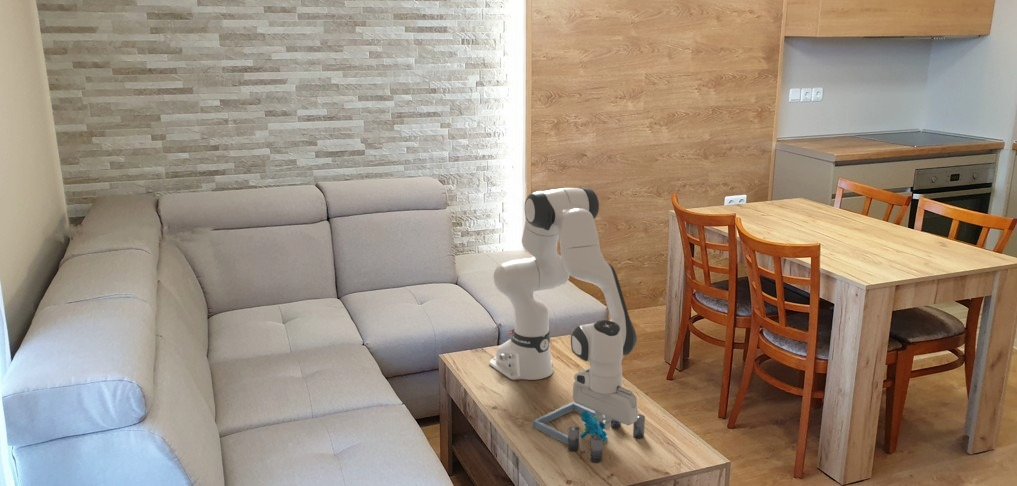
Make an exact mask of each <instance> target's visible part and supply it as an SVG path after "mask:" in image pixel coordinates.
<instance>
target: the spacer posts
mask: <svg viewBox="0 0 1017 486" xmlns="http://www.w3.org/2000/svg"><path fill="white" fill-rule="evenodd" d="M645 421H646V416H645V415H644V414H640V413H638V419H637V421H636V422H634V423H633V426H632V427H633V428H632V429H633V433H632V436H633V438H634V439H636V440H642V439H644V437H645V424H646V422H645ZM610 427H611V429H614V430H615V429H617V430H618V429H621V428H622V423H621V422H619V421H616V420H614V419H613V420H612V421H611V422H610ZM567 430H568V431H567V435H568V444H567V450H568V451H569V452H578V451H580V427H579V426H576V425H570V426H568V428H567ZM602 461H603V439H602V438H601V437H596V436H592V437H591V438H590V462H592V463H593V464H600V463H602Z"/></svg>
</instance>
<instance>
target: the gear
mask: <svg viewBox="0 0 1017 486" xmlns="http://www.w3.org/2000/svg"><path fill="white" fill-rule="evenodd" d="M580 416H581V418H580V419H581V421H582V422H584V424H583V426H584V427H585V428H584V432H582V434H579V438H580V439H581V440H582V439H584V438H585V437H586V436H588V435H589V434H590V435H591V436H594V435H595V437H601V438H602V439H603V443H605V442H606V441H608V437H607V436H608V434H607V432H606V431H605V429H604V428H601V427H599V426H598V420H597V418H596V416H595V417H593V415H592V414H591V413H589V414H588V412H587V411H584V412H583V413H580ZM592 417H593V418H592Z"/></svg>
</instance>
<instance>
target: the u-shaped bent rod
mask: <svg viewBox="0 0 1017 486" xmlns="http://www.w3.org/2000/svg"><path fill="white" fill-rule="evenodd" d="M572 411H574V412H576V413H579V414H581V413H583V412H584V411H587V412H588V414H589V413H591V414H592V415H593V417H595V416H596V415H595V411H594V410H591V409H589V408H587V407H584V406H582V405H580V404H578V403H575V401H572V402H569V403H567V404H565V405H563V406H561V407H558V408H557V409H555V410H553V411H551V412H548V413H546V414H544V415H542V416H540V417H538V418H536V419H534V420H532V428H534V429H536V430H538V431H540V432H542V433H544V434H545V435H548V436H550V437H552V438H554V439H555V440H558V441H560V442H561V443H563V444H565V445H568V434H566V433H564V432H562V431H560V430H558V429H555V428H554V427H552V426H550V425H547V423H549V422H551V421H553V420H556V419H557V418H560V417H562V416H564V415H566V414H568V413H570V412H572ZM593 417H592V418H593ZM603 417H604V420H607V419H605V415H603Z"/></svg>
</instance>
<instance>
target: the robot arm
mask: <svg viewBox="0 0 1017 486" xmlns="http://www.w3.org/2000/svg"><path fill="white" fill-rule="evenodd" d="M599 202H600V201H599V198H598V196H597V194H596V192H595V191H594V190H593V189H591V188H587V187H582V186H581V187H580V186H579V187H560V188H555V189H548V190H538V191H534V192H532V193H529V194H528V196H527V197H526V199H525V201H524V215H525V222H524V223H525V224H524V226H523V227H524V228H523V232H522V237H521V245H522V247H523V249H524V251H526V252H527V253H528V254H529V255H531V256H529V257H525V258H524V257H523V258H517V259H510V260H507V261H504V262H501V263H499V264H498V265H496V267H495V269H494V271H493V274H492V277H493V279H492V280H493V283H494V286H495V287H496V290H497V291H499V293H501V294H503V295H504V296H506V298H507V299H509V302H510V303H511V305H512V309H513V318H514V328H513V329H511V330H509V331H508V332H509V333H508V334H509V335H511V337H510V339H508V340H507V341H505V342H503V343H502V344H500V345H499V347H497V350H496V356H494V357H493V358H491V359H490V360H489V363H488V365H489V366H490V367H492V368H493V369H495V370H497V371H498V372H499V373H501V374H502V375H504V376H505V377H506V378H508V379H509V380H514V381H515V380H529V381H530V380H531V381H532V380H534V381H535V380H536V381H537V380H542V379H545V378H547V377H550V376H551V375H552V374H553V373H554V369H553V360H552V356H551V354H552V353H551V347H550V346H551V345H550V341H551V332H550V330H549V327H550V324H549V321H550V319H549V318H550V312H549V309H548V307H547V305H546V304H545V303H544V302H542V301H540V300H537V299H536V298H534V294H535V292H540V291H545V290H546V291H547V290H551V289H553V290H554V289H556V288H558V287H561V286H564V285H565V284H567V283H568V281H569V278H570V277H572V278H575V279H576V280H578V281H582V282H585V283H589V284H593V285H595V286H597V287H598V288H599V289H600V290H601V291H602V293H603V295H604V299H605V302H606V306H607V309H608V312H609V316H610V320H607V319H606V320H605V319H603V320H598V321H595V322H594V323H588V324H587V323H586V324H580V325H577V326H576V327H575V328H574V330H573V331H572V333H571V337H570V348H571V351H572V353H573V354H574V356H576V357H577V358H579V359H580V360H582V361H584V362H588V363H589V367H588V368H586V369H583V370H580V371H578V372H576V373H575V374H574V375H573V379H574V382H573V386H572V399H573V402H575V403H577V404H579V405H582V406H584V407H586V408H588V409H591V410H593V411H595V415H596V418H597V420H598V426H599V427H601V428H604V429H603V430H606V431H607V430H609V429H610V427H611V421H612V420H613V419H614V420H616V421H619V422H621V424H624V425H626V426H631V425H632V424H633V425H634V422H636V421H637V419H638V414H639V412H638V403H637V401H638V399H637V396H636V395H635V393H633V391H632V390H629V389H626V388H625V387H623V367H622V361H623V358H624V356H628V355H630V353H631V352H633V350H634V349H635V347H636V345H637V342H638V336H637V333H636V329H635V327H634V324H633V321H632V320H631V317H630V315H629V311H628V308H627V305H626V301H625V297H624V293H623V291H622V287H621V283H620V280H619V278H618V275H617V272H616V270H615V268H614V266H613V265H612V264H611V263H609V262H608V261H606V259H605V258H604V255H603V253H602V251H601V247H600V246H601V244H600V238H599V234H598V228H597V225H596V222H595V219H596V218H597V216H598V214H599V211H600V203H599ZM558 243H559V248H560V249H559V250H560V254H559V251H558ZM603 415H604V416H605V419H607V420H604V417H603Z"/></svg>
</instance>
